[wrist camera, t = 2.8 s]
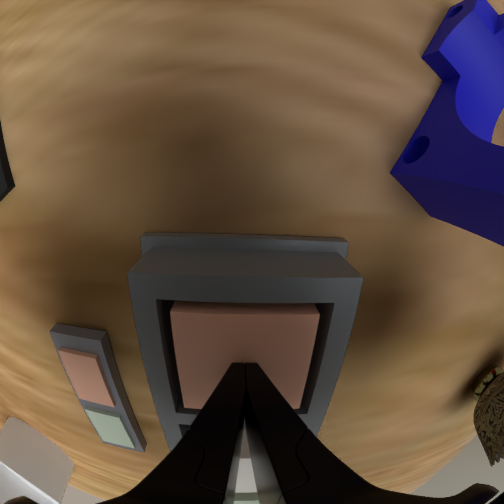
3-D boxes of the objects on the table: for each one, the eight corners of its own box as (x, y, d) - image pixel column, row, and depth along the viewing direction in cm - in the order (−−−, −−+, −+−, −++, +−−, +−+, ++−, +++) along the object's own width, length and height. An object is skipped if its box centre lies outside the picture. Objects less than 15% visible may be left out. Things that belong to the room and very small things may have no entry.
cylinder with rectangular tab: (-3, 413, 15) (-41, 480, 3) (32, 420, 14) (-12, 510, 3) (46, 461, 18) (21, 526, 6) (90, 472, 17) (67, 554, 6)
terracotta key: (289, 369, 11) (299, 408, 9) (191, 368, 11) (184, 407, 9) (303, 282, 10) (320, 314, 8) (184, 279, 10) (170, 311, 8)
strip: (146, 443, 14) (143, 455, 13) (106, 434, 14) (102, 445, 13) (106, 331, 11) (97, 344, 10) (57, 323, 11) (46, 334, 10)
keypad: (285, 475, 16) (289, 504, 13) (191, 474, 16) (188, 504, 13) (343, 238, 10) (377, 264, 7) (145, 232, 10) (113, 258, 7)
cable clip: (448, 8, 7) (514, -22, 1) (496, 65, 8) (565, 56, 2) (361, 148, 9) (476, 147, 4) (428, 215, 10) (530, 259, 5)
